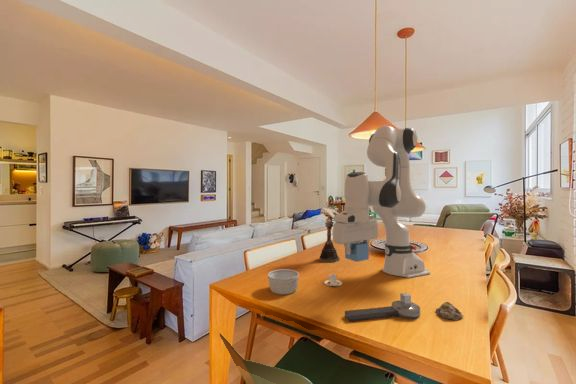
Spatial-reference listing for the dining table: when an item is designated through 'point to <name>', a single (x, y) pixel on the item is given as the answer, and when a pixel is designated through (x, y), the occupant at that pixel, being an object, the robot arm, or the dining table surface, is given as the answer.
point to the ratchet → (387, 310)
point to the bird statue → (329, 237)
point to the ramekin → (283, 281)
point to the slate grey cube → (358, 251)
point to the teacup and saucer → (333, 280)
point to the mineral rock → (449, 311)
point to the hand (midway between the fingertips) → (356, 253)
